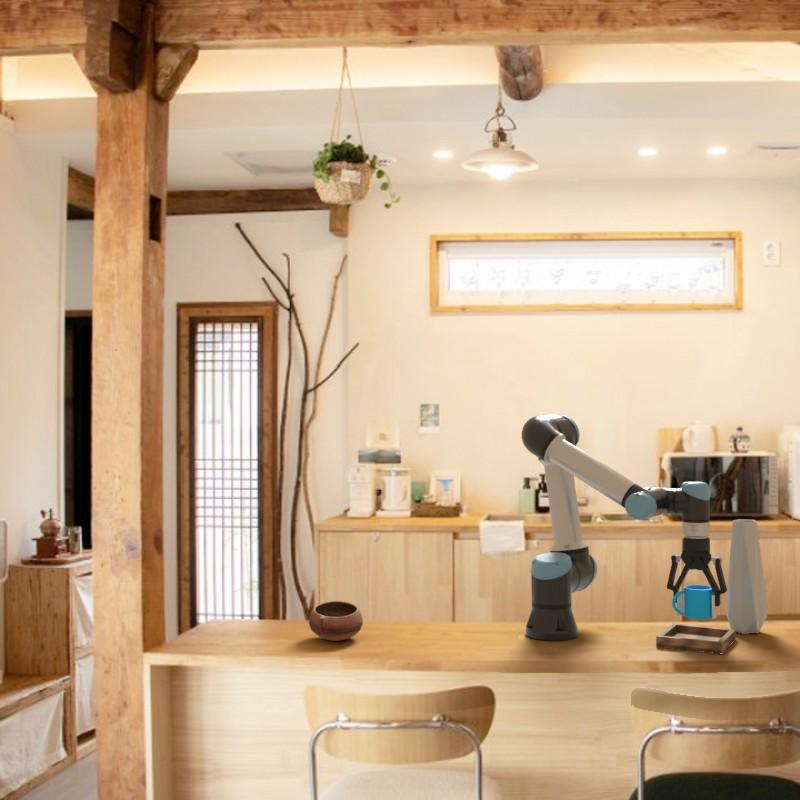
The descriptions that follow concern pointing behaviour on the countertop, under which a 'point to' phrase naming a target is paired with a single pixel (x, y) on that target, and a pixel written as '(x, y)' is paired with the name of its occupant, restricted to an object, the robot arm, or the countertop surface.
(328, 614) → the bowl
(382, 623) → the countertop surface
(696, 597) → the mug
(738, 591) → the vase
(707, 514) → the robot arm
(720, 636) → the tray
